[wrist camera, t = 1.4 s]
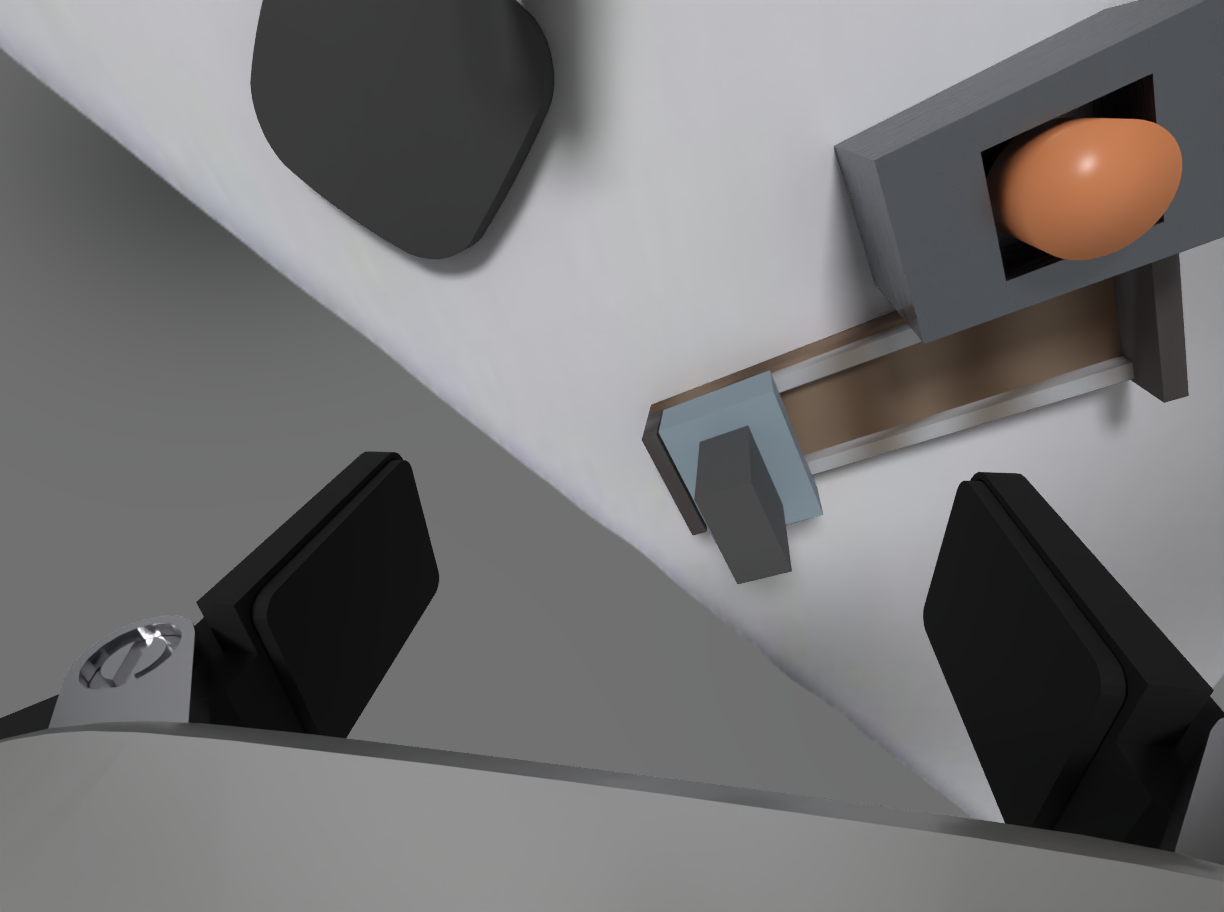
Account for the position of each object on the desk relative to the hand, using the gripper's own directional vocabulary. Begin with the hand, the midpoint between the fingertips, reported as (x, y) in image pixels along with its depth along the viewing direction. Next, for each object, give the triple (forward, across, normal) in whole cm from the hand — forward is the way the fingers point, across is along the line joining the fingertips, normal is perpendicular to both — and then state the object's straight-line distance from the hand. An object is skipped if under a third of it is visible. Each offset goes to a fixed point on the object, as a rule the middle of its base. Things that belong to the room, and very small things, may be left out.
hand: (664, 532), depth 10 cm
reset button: (+20, -14, -4) cm, 24 cm away
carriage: (+25, -3, +12) cm, 28 cm away
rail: (+28, -11, +8) cm, 31 cm away
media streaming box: (+29, +17, -9) cm, 34 cm away
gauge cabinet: (+28, -14, -4) cm, 31 cm away
